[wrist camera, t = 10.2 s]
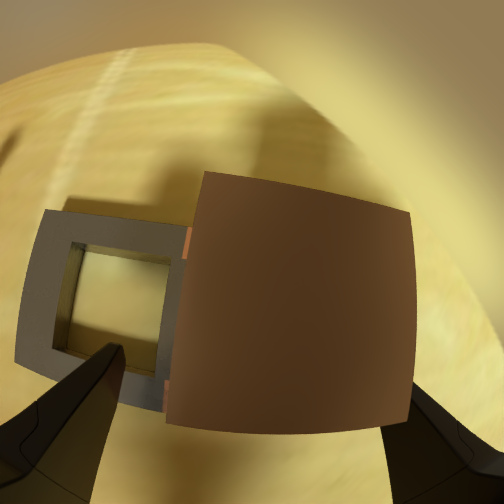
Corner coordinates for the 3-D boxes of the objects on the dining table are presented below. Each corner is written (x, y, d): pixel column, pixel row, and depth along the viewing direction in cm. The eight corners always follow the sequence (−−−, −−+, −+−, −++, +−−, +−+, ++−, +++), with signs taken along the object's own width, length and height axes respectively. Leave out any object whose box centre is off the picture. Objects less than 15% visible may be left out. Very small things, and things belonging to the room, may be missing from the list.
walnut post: (280, 299, 18) (409, 212, 5) (273, 368, 16) (407, 421, 4) (210, 290, 17) (204, 170, 5) (201, 361, 16) (166, 423, 4)
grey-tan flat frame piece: (346, 260, 19) (358, 252, 17) (335, 414, 16) (348, 421, 14) (57, 220, 17) (45, 209, 15) (29, 361, 14) (14, 362, 12)
